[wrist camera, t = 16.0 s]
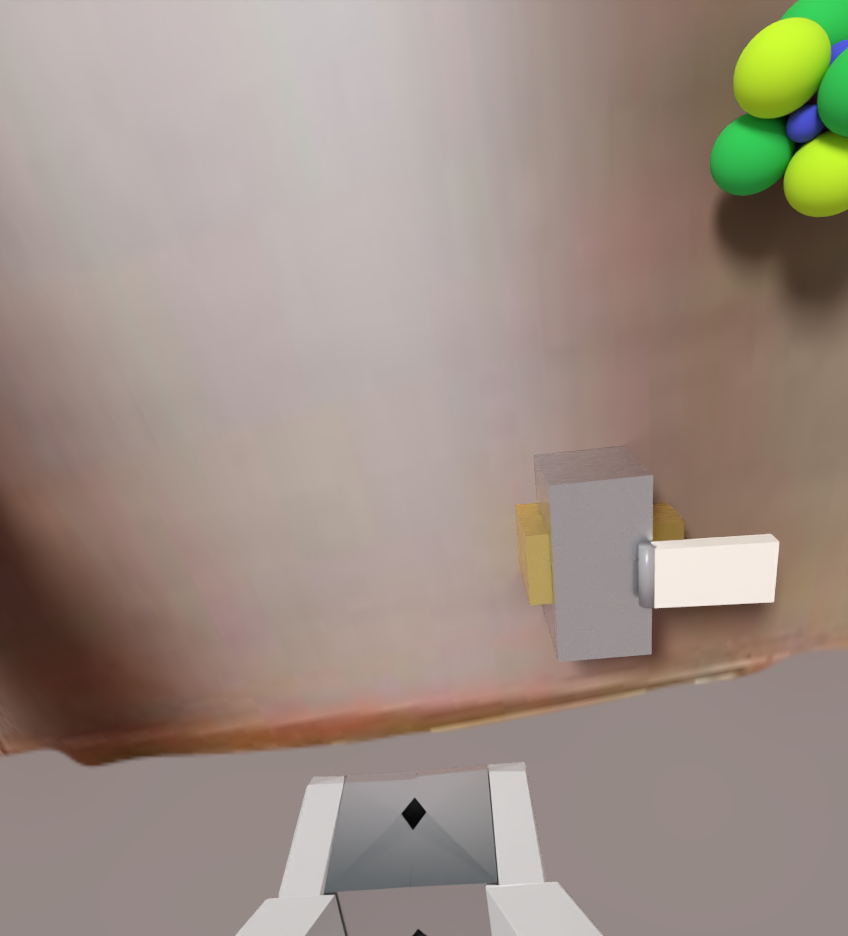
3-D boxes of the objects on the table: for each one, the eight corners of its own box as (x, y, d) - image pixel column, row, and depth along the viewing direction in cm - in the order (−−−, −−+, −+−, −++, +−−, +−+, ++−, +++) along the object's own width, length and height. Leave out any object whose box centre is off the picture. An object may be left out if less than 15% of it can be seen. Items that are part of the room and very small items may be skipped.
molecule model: (807, -29, 27) (733, 29, 25) (995, -11, 24) (934, 59, 21) (751, 135, 33) (688, 197, 31) (895, 169, 30) (838, 241, 27)
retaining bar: (640, 609, 35) (773, 602, 34) (641, 550, 34) (779, 541, 33) (636, 599, 36) (765, 592, 35) (636, 542, 34) (770, 534, 34)
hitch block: (543, 612, 43) (558, 662, 38) (533, 455, 39) (548, 485, 34) (624, 605, 43) (651, 654, 37) (623, 445, 38) (653, 474, 33)
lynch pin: (519, 567, 42) (529, 605, 37) (515, 504, 40) (525, 536, 36) (666, 553, 41) (695, 590, 36) (667, 489, 40) (698, 519, 35)
